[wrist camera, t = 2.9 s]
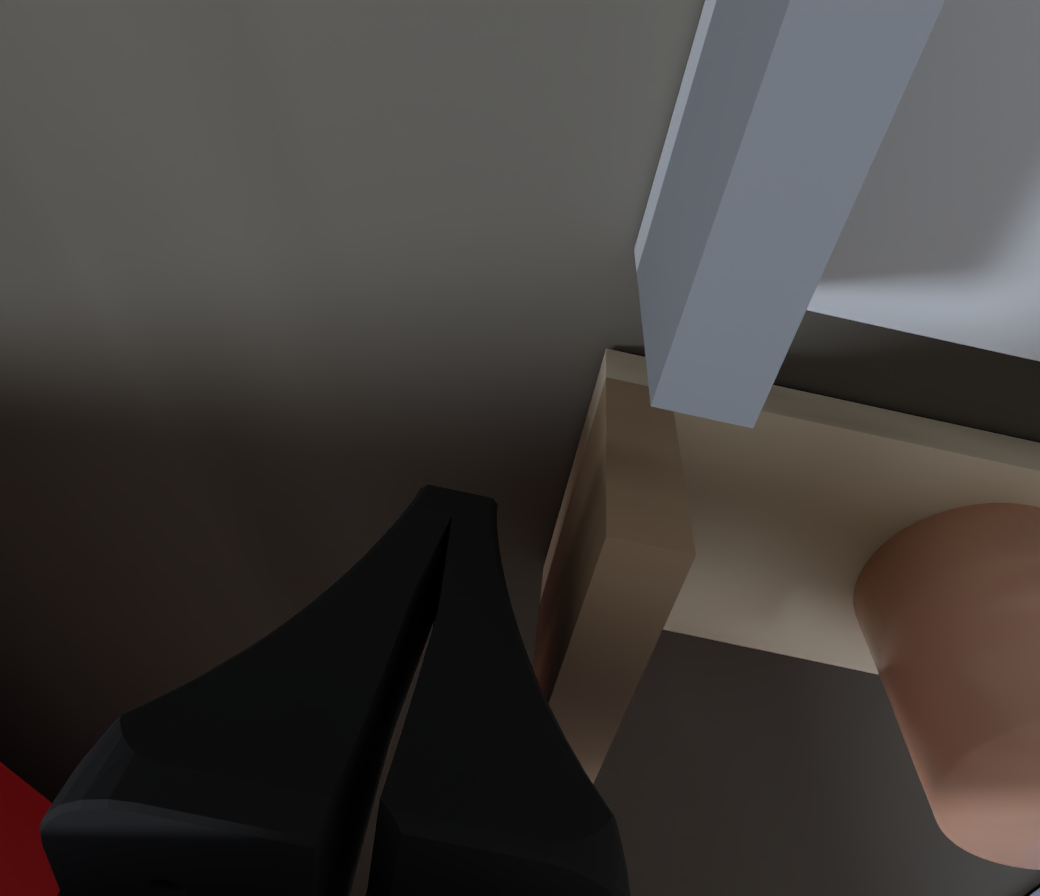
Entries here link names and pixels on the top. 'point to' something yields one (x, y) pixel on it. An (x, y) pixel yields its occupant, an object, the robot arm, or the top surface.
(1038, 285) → the pale blue block
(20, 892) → the book
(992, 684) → the canister
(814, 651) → the tan notched piece
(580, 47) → the top surface
